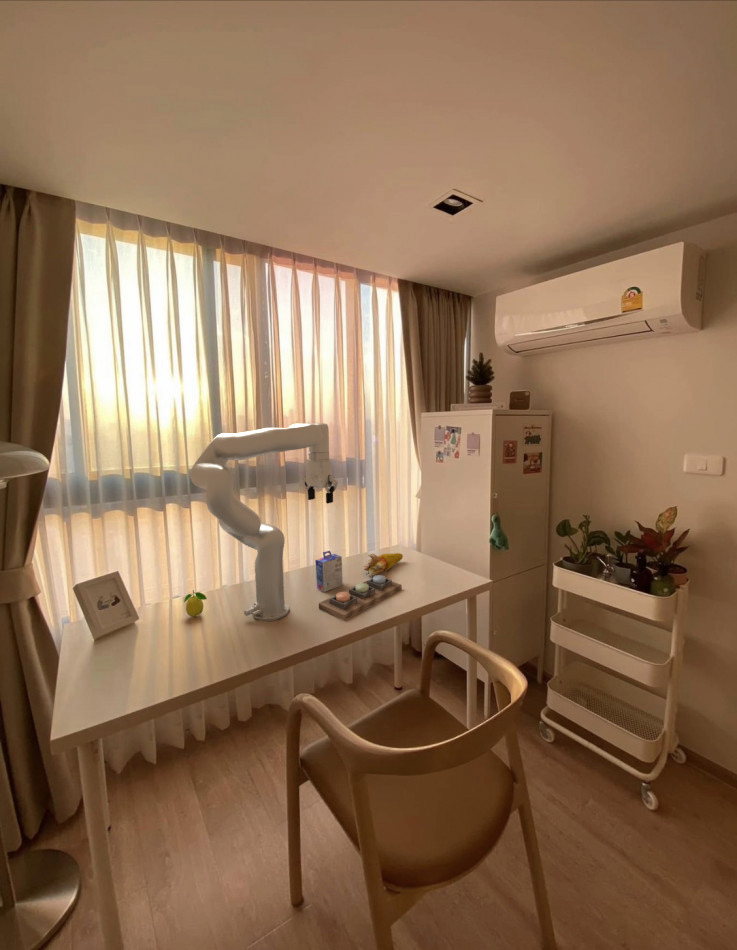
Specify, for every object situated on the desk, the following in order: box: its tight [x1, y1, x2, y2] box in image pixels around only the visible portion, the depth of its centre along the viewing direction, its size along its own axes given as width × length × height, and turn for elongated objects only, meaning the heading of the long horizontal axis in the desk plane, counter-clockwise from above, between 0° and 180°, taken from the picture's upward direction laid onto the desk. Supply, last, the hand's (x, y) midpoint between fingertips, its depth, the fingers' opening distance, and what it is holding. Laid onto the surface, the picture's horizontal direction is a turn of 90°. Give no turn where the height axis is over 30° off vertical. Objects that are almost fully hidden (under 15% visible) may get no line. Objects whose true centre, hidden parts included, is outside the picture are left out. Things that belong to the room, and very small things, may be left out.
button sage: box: [355, 582, 369, 594], centre depth 153 cm, size 5×5×2 cm
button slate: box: [372, 574, 387, 585], centre depth 160 cm, size 5×5×2 cm
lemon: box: [183, 589, 207, 618], centre depth 140 cm, size 7×6×10 cm
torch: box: [362, 552, 404, 579], centre depth 181 cm, size 8×8×25 cm
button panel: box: [318, 577, 403, 621], centre depth 153 cm, size 32×13×4 cm, turn 138°
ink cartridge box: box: [314, 550, 344, 593], centre depth 163 cm, size 10×6×14 cm, turn 133°
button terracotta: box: [335, 591, 350, 603], centre depth 146 cm, size 5×5×2 cm
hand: (320, 501), depth 155 cm, fingers open, 9 cm apart
